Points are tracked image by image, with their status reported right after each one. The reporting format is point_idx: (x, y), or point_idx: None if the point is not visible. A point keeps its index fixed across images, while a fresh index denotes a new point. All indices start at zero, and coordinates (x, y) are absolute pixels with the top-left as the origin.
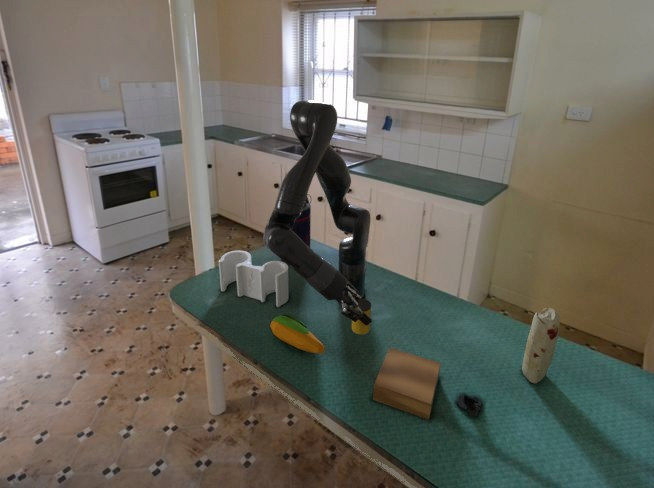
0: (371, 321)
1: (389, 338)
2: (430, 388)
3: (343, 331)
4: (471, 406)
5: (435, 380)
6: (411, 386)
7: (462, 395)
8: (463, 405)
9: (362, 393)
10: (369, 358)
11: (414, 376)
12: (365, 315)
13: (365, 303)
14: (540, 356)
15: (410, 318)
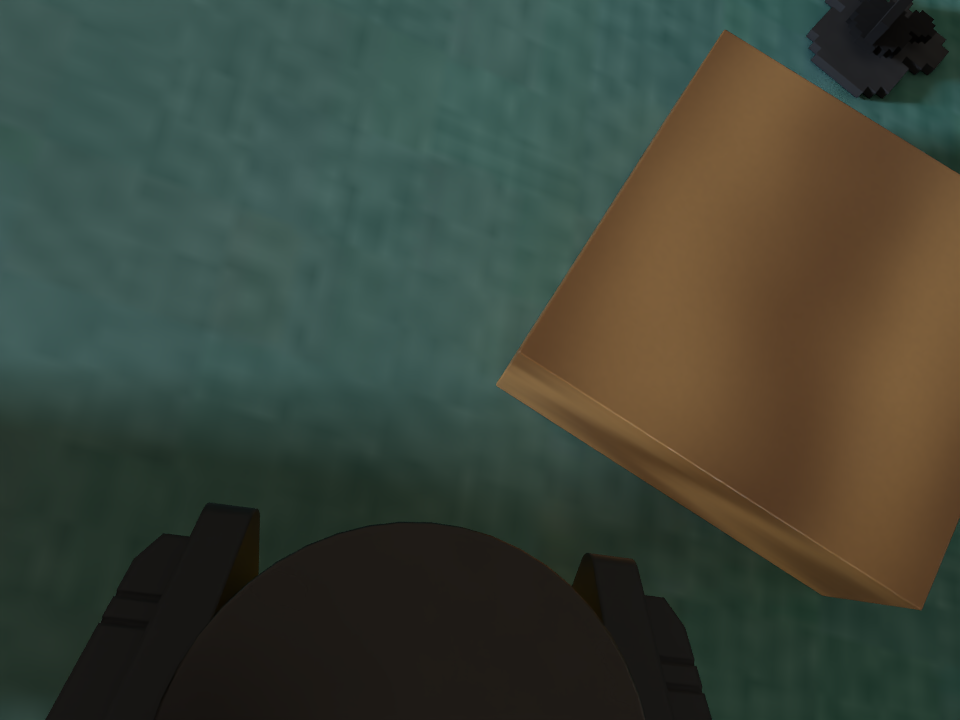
0: (627, 563)
1: (250, 296)
2: (950, 195)
3: (55, 695)
4: (920, 32)
5: (881, 133)
6: (937, 319)
7: (820, 42)
8: (884, 70)
9: (767, 661)
10: (442, 523)
11: (845, 262)
12: (671, 716)
13: (390, 676)
14: None
15: (51, 51)
